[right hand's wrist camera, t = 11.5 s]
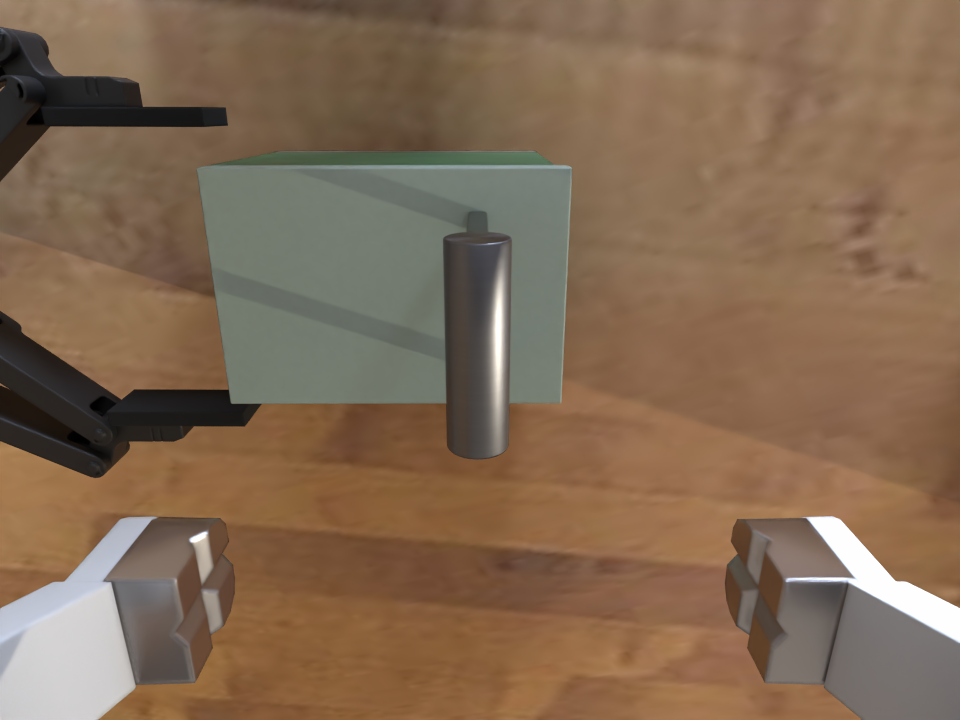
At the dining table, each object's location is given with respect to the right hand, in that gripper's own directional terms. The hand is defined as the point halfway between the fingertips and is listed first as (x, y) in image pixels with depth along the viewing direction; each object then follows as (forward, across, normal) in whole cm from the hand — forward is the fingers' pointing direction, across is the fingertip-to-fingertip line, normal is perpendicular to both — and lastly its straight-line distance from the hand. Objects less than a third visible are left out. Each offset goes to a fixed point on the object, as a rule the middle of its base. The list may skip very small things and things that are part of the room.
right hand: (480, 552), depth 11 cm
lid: (+17, -3, 0) cm, 18 cm away
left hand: (+21, -11, 0) cm, 24 cm away
